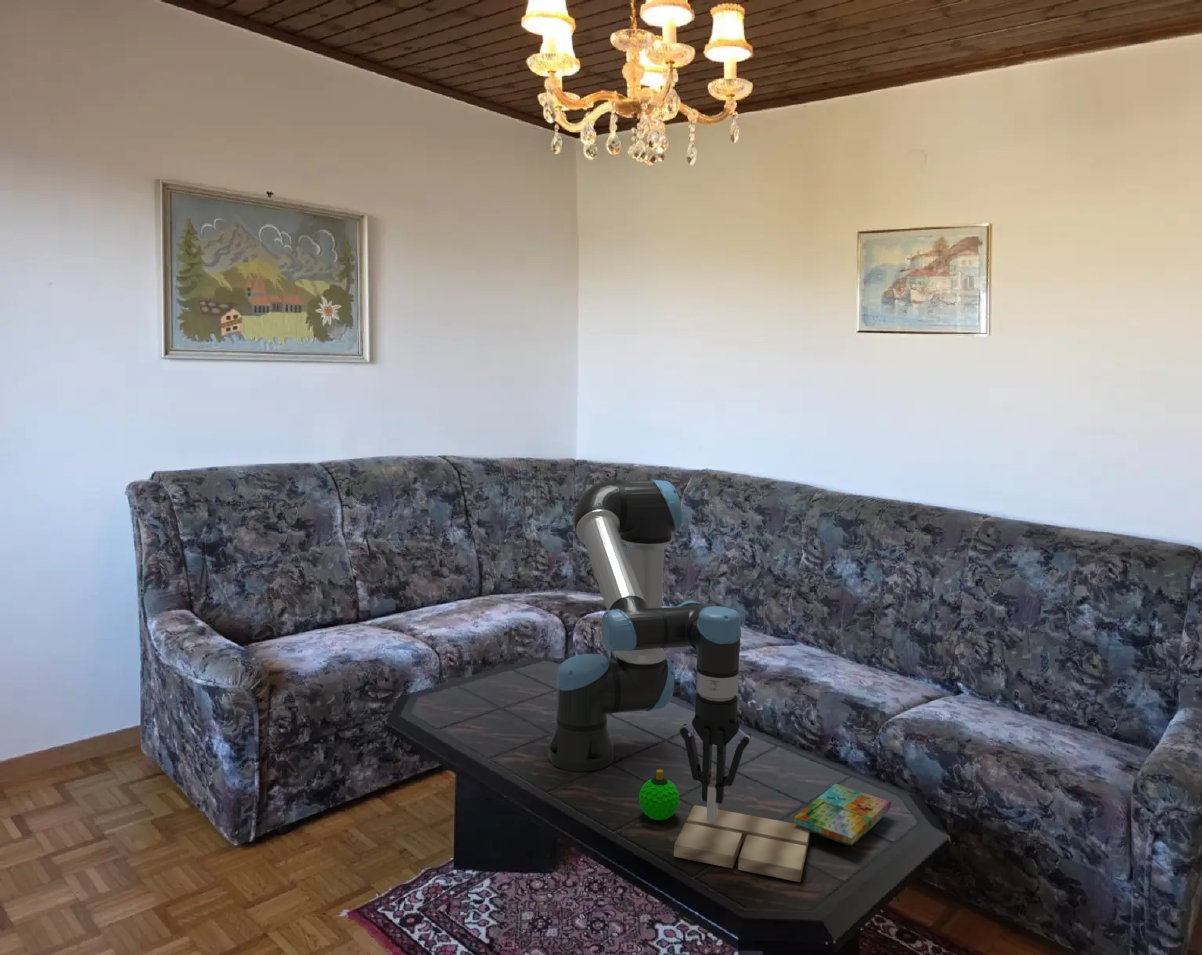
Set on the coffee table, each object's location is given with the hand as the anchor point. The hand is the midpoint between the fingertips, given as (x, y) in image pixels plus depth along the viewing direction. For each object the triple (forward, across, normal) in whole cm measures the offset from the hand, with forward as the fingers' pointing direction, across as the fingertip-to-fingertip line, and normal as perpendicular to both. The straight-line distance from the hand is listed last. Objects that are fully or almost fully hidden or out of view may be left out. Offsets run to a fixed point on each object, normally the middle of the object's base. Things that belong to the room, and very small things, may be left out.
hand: (712, 817), depth 162 cm
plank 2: (+8, +11, +3) cm, 14 cm away
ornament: (+9, -13, +12) cm, 20 cm away
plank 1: (+8, -1, +3) cm, 9 cm away
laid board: (+9, +5, +11) cm, 15 cm away
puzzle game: (+8, +22, +21) cm, 31 cm away
